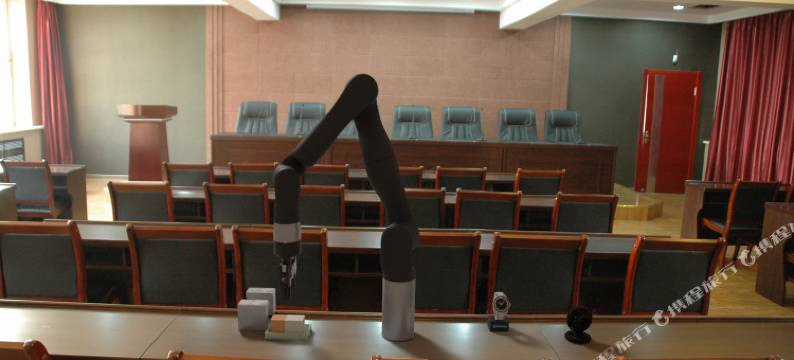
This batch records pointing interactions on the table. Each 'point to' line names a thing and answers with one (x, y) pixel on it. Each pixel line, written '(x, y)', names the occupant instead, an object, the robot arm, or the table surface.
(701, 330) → the table surface
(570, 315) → the webcam
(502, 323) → the watch
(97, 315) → the table surface
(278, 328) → the two-tone eraser block
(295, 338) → the tray
